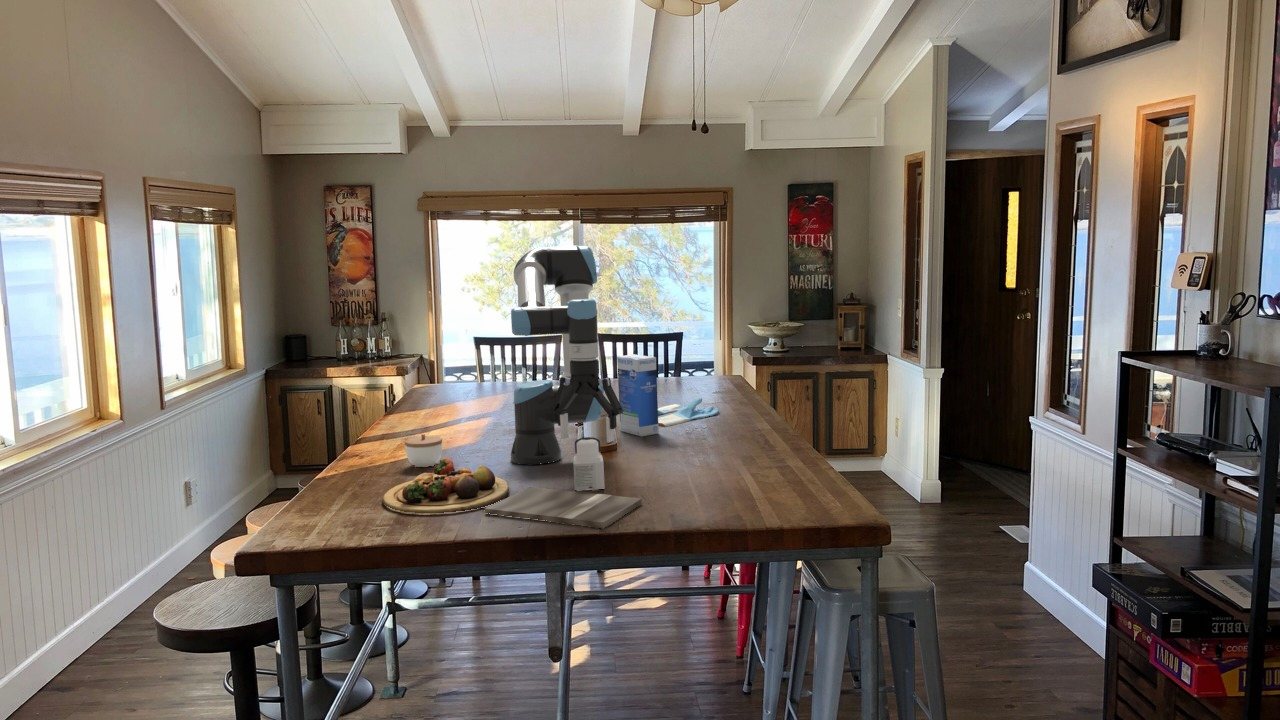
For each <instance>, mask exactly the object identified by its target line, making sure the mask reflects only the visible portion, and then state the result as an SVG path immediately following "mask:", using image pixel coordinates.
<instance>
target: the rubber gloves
mask: <svg viewBox="0 0 1280 720" xmlns="http://www.w3.org/2000/svg"><path fill="white" fill-rule="evenodd" d="M702 401H703V398H702V397H697V398H695V399H693V400H690V401H689V402H686V403H684V404H683V405H682V406H681V405H680V404H678V403H674V404H670V405H664V406H661V407H658V416H661V417H658V427H664V428H665V427H669V426H670V427H671V426H674V425H680V424H682V423H687V422H690V421H694V420H700V418H702V419H706V418H708V417H709V416H710V417H713V416H715V415H718V413H720V408H718V407H715V408H714V407H713V406H712V405H708V407H704V406H703V407H699V409H696V408H697V406H698V405H700V404H702ZM677 407H680V408H677ZM674 408H675V409H674ZM666 414H668V415H666ZM662 415H665V416H662ZM705 417H706V418H705Z"/></svg>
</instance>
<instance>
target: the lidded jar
mask: <svg viewBox="0 0 1280 720" xmlns="http://www.w3.org/2000/svg"><path fill="white" fill-rule="evenodd" d="M404 445H405V453H406V457H407V460H408V461H409V462H410V463H411V464H412V465H417V466H426V465H432V464H435V463H439V462H440V460H441V457H442V453H443V452H442V451H443V438H442V437H440V436H436V435H426V434H425V433H423V434H422V433H421V436H416V437H410V438H408V439H406V440H405V441H404Z"/></svg>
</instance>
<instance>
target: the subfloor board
mask: <svg viewBox="0 0 1280 720" xmlns="http://www.w3.org/2000/svg"><path fill="white" fill-rule="evenodd" d="M641 504H642V498H639V497H638V498H637V497H628V496H620V495H612V494H604V493H591V492H583V491H571V490H570V491H569V490H560V489H550V488H542V487H535V486H534V487H532V486H529V487H527V488H525V489H523V490H521V491H518V492H517V493H514V494H512V495H511V496H509V497H505V498H504V499H503V500H502V501H499V502H497V503H495V504H493V505H491V506H489V507H486V508H484V514H485V513H488V514H489V513H490V514H497V515H504V516H512V517H520V518H530V519H538V520H545V521H546V520H547V521H551V522H558V523H564V524H563V525H567V524H574V525H573V526H575V525H583V526H590V527H589V528H591V527H595V528H594V529H599V528H601V529H600V530H604V529H606V528H608V527H609V526H611V525H612V524H614V523H615V522H617V521H619V520H620V519H621V518H623V517H624V515H625V514H626V515H628V514H629V513H630V511H631V510H632V511H634V510H635V508H636V507H637V508H639V507H640V506H642V505H643V504H642V505H641ZM638 506H639V507H638ZM637 508H636V509H637ZM633 509H634V510H633ZM632 511H631V512H632ZM628 512H629V513H628ZM627 513H628V514H627ZM626 515H625V516H626ZM622 516H623V517H622ZM619 518H620V519H619ZM616 520H617V521H616ZM613 522H614V523H613ZM558 523H557V524H558ZM583 526H582V527H583ZM605 527H606V528H605Z"/></svg>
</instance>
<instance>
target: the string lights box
mask: <svg viewBox="0 0 1280 720" xmlns="http://www.w3.org/2000/svg"><path fill="white" fill-rule="evenodd" d="M616 361H617V362H616V363H617V384H618V401H619V403H620V405H621V407H622V409H623V413H621V414H619V423H620V424H619V425H620V428H619V429H620V431H619V432H623V433H627V434H631V435H635V436H638V437H647V436H652V435H656V434H659V428H660V427H659V425H658V423H659V422H658V418H659V415H658V408H659V407H658V403H659V402H658V379H657V376H658V375H657V357H656V356H651V355H650V356H649V355H648V356H647V355H642V354H635V353H633V354H626V355H618V356H616Z"/></svg>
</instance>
